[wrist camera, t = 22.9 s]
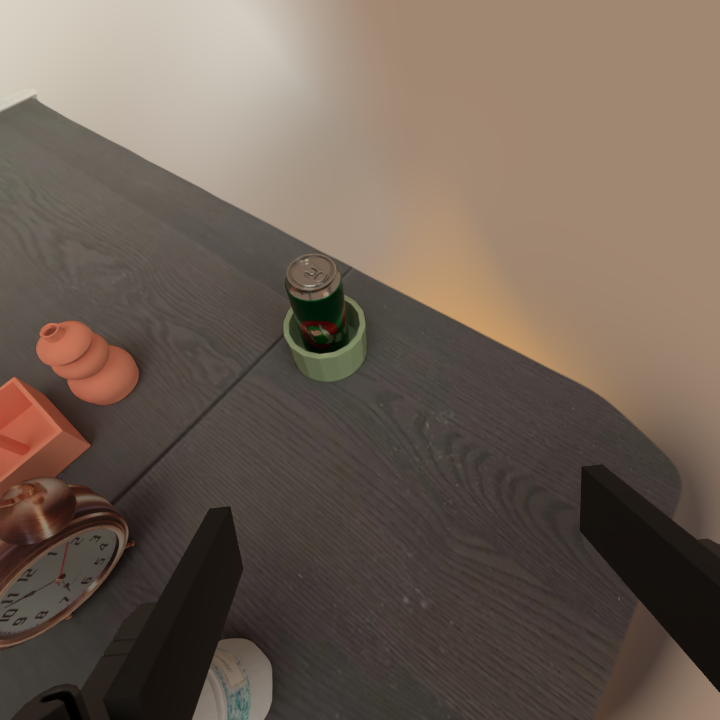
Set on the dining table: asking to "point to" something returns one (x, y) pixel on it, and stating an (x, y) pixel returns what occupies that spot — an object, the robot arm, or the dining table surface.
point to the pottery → (41, 418)
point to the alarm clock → (52, 553)
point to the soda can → (318, 303)
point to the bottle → (236, 683)
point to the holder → (331, 363)
